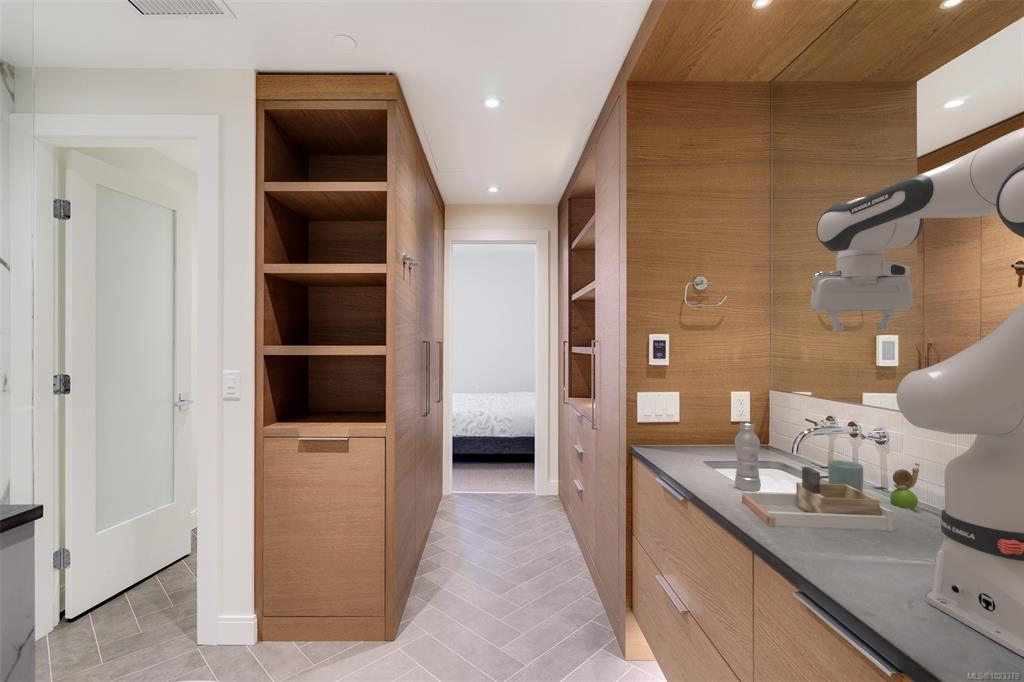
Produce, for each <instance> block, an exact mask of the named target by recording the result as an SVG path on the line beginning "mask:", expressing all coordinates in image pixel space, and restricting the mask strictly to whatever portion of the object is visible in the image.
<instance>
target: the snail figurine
mask: <svg viewBox="0 0 1024 682" xmlns="http://www.w3.org/2000/svg"><path fill="white" fill-rule="evenodd" d="M914 465H915V466H916V467H913V468H912V470H911V472H912V473H911V472H910V471H908V470H907V469H902V468H901V469H897V470H895V471H894V473H893V474H892V480H893V483H894V484H893V486H894V488H896V489H893V491H891V493H890V495H889V496H890V497H889V498H890V502H891V504H892V505H894V506H896V507H899V508H904V509H908V510H911V511H913V510H915V509H916V508H917V506H918V504H919V499H918V496H917V495H916V494H915V493H914V492H913V491H911V490H910V489H912V488H914V487H915V485H916V484H917V481H918V476H919V472H920V469H919V468H920V465H921V464H920V463H917V462H915V463H914Z"/></svg>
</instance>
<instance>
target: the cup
mask: <svg viewBox="0 0 1024 682" xmlns="http://www.w3.org/2000/svg"><path fill="white" fill-rule="evenodd" d="M827 477H828V484H847V485H849V486H851V487H853V488H855V489H857V490H859V491H861V492H863V493H864V466H863V465H862V464H861V463H858V462H854V461H848V460H838V459H837V460H836V459H835V460H834V459H833V460H829V461H828V463H827Z"/></svg>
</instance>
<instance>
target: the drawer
mask: <svg viewBox="0 0 1024 682" xmlns="http://www.w3.org/2000/svg"><path fill="white" fill-rule="evenodd" d="M795 484H796V485H795V489H796V492H795V493H796V507H797V508H798V509H800V510H801V511H803V513H826V514H851V515H877V516H880V505H881V504H880V502H881V501H880V500H879V499H877V498H875V497H874V496H871V495H869V494H868V493H866V492H864V491H863V492H861V491H859V490H857V489H855V488H853V487H851V486H849V485H847V484H829V483H821V473H820V472H819V471H817V470H815V469H814V468H811V467H809V466H801V482H796V483H795Z"/></svg>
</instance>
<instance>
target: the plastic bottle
mask: <svg viewBox="0 0 1024 682" xmlns="http://www.w3.org/2000/svg"><path fill="white" fill-rule="evenodd" d="M739 429H740V431H739V432H738V433H737V434H736V436H735V438H734V440H733V441H734V447H735V454H736V471H735V477H734V484H735V486H734V487H735V488H736V489H738V490H740V491H749V492H760V490H761V487H762V483H761V478H760V473H759V453H760V447H761V440H760V438H759V436H758V435H757V434H756V432H755V430H756V428H755V423H754V422H752V421H751V422H750V421H740V423H739Z"/></svg>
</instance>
